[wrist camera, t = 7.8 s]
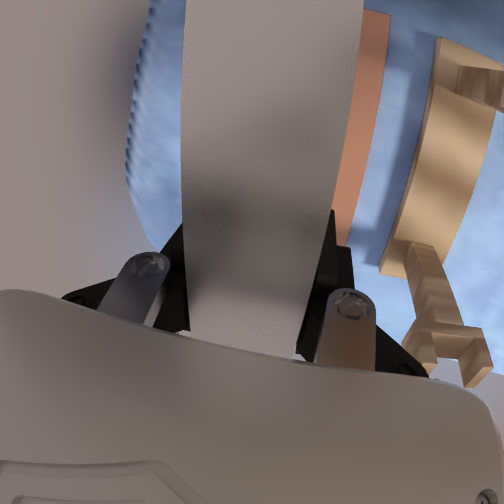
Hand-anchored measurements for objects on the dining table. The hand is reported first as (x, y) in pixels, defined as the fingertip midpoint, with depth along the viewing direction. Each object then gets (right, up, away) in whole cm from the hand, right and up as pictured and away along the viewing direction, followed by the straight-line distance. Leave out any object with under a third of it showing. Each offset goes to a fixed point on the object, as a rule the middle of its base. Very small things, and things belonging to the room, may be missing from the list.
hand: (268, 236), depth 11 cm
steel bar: (0, -1, -1) cm, 1 cm away
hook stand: (+16, +6, +10) cm, 20 cm away
